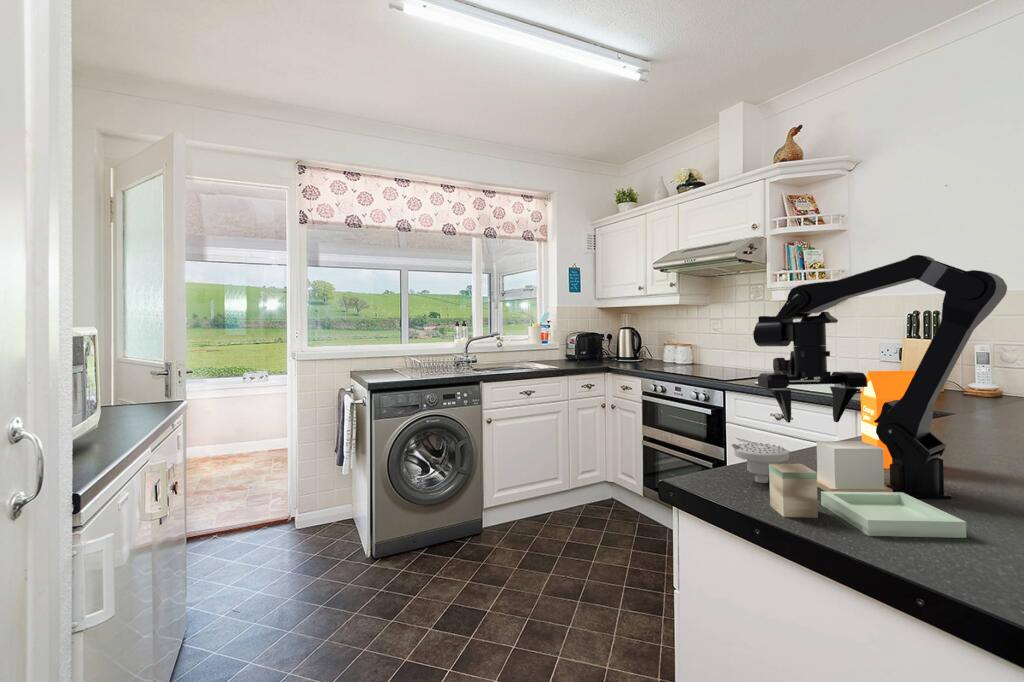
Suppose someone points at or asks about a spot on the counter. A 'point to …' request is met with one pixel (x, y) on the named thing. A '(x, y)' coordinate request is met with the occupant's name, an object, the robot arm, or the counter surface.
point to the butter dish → (850, 467)
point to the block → (793, 490)
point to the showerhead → (760, 458)
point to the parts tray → (892, 514)
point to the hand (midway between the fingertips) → (812, 422)
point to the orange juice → (881, 403)
